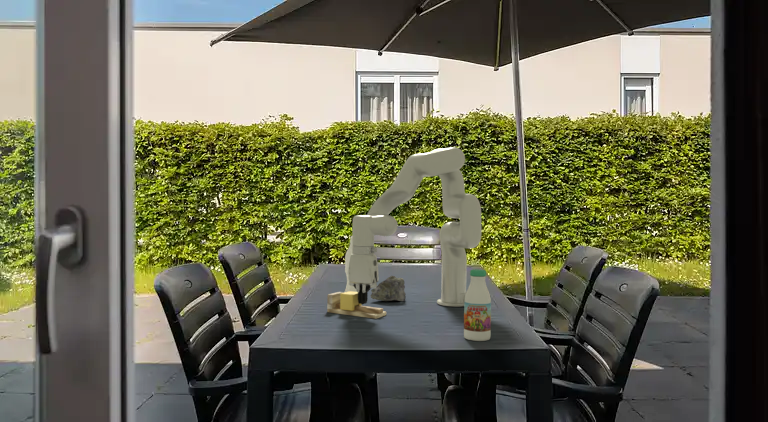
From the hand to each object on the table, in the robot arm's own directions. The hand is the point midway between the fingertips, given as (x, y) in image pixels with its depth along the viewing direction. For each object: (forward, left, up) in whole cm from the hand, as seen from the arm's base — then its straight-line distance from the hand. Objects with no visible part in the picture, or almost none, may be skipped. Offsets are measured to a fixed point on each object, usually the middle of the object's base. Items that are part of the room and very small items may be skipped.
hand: (362, 303), depth 194 cm
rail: (+2, 0, -4) cm, 5 cm away
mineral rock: (+5, -27, -4) cm, 28 cm away
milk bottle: (-46, +10, -4) cm, 47 cm away
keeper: (+5, 0, -2) cm, 5 cm away
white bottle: (+18, -23, -4) cm, 30 cm away
